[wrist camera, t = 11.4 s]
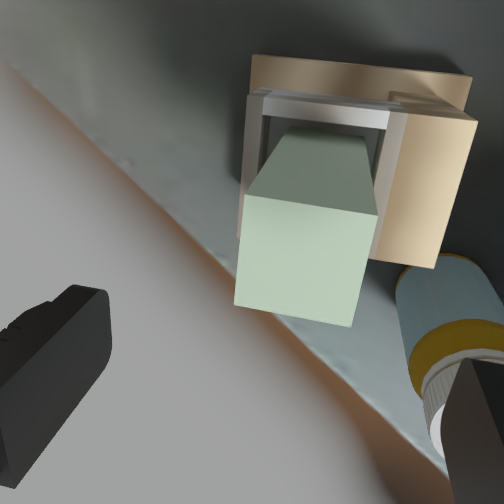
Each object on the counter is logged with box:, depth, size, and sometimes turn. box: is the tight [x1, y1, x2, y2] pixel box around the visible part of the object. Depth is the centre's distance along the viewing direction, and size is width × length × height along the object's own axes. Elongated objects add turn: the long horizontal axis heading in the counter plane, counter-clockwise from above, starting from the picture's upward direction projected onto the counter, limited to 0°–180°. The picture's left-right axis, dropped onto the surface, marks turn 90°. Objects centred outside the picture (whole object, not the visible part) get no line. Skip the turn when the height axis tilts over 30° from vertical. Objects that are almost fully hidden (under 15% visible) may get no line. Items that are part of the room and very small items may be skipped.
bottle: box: [395, 253, 504, 459], centre depth 30 cm, size 7×7×15 cm
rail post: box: [234, 126, 378, 327], centre depth 19 cm, size 4×4×12 cm
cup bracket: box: [237, 54, 478, 269], centre depth 27 cm, size 14×10×12 cm
